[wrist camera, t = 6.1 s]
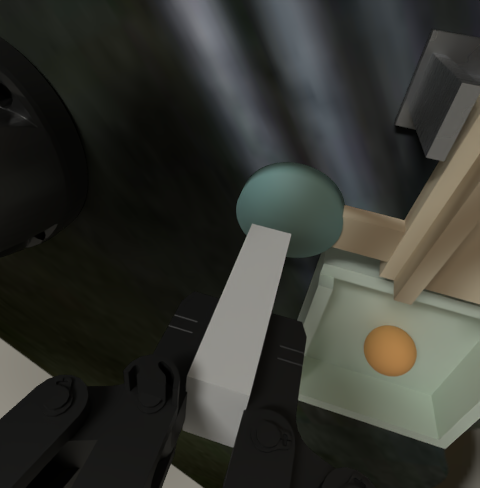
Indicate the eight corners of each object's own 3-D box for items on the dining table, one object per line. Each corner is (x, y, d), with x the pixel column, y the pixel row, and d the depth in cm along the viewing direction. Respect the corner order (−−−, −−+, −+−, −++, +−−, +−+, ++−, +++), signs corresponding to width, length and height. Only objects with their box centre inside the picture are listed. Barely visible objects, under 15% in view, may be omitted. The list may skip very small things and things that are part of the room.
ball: (373, 309, 24) (356, 340, 26) (374, 345, 22) (357, 377, 23) (421, 323, 24) (402, 354, 26) (429, 362, 21) (406, 393, 23)
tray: (286, 349, 30) (277, 393, 27) (328, 233, 22) (322, 274, 19) (435, 397, 28) (445, 448, 25) (533, 288, 21) (563, 343, 18)
